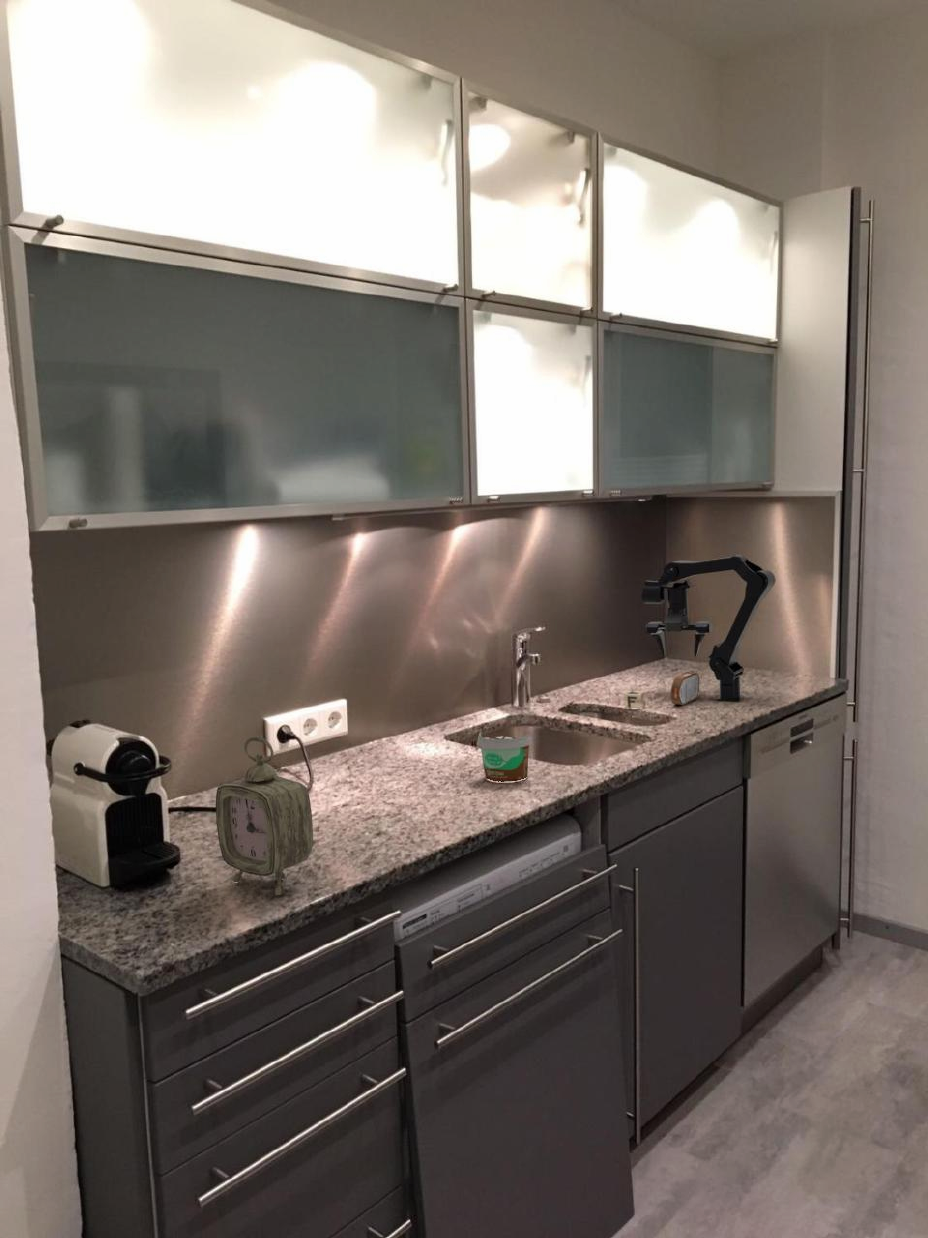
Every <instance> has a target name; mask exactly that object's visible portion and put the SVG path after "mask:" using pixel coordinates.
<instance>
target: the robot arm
mask: <svg viewBox="0 0 928 1238" xmlns="http://www.w3.org/2000/svg"><path fill="white" fill-rule="evenodd" d="M731 570H733V571H735V573H736V574H737V575H738V576H739V577H740V578H741V579H742V580H743V581H744V582H745V583H746V585H745V592H744V600H743V601H742V603H741V605H740V607H739V610H738V611H737V614H736V616H735V618H734V620H733V623H732V624H731V626H730V628H729V631H728V633H727V635H726V637H725V639H724V641H723V642H720V643H718V644H715V645H714V646H713V649H712V651H711V654H710V655H709V656H708V658H709V660H708V665H709V668H710V669H711V672H713V673H714V676H715V679H716V680H717V681H719V695H718V697H717V698H716V701H731V702H739V701H741V700H742V699H743V698H744V694H741V677H743V674H744V672H745V668H744V667H743V666H742V665H741V664H740V663H739V662H738V657H739V652H740V650H739V649H740V644H742V640H743V638H744V636H745V635H746V633H747V631H748V628H749V626H750V624H751V623H752V620H753V618H754V616H755V613H756V612H757V610H758V608H759V605H760V603H761V602H762V601H763V600H764V599H765V598H766V597H767V595H769V593H770V592H771V590H772V589H773V588H774V586H775V584H776V577H775V574H774V573H773V572H772V571H771V570H769V569H764V568H762V567H761V566H760V565H758V564H756V563H755V562H753V561H751V560H750V559H748V558H747V557H745V556H744V555H743V554H737V555H733V556H727V557H722V558H714V559H708V560H700V561H695V560H684V559H683V560H682V559H681V560H675V561H670V562H668V563H667V564H666V565H665V566H664V568H663V573H662V575H661V576H660V578H659V579H658V580H656V581H654V580H645V581H644V582H643V583H644V585H643V587H642V590H641V599H642V602H643V604H644V605H645V604H652V605H653V604H657V605H658V604H659V605H660V604H665V602H666V601H667V615H666V616H665V619H664V622H662V621H650V622H648V623H647V624H646V625H645V634H649V635H650V637H654V639H655V640H656V642H657V643H658V646H659V649H660V651H661V654H662V656H663V657H666V655H667V654H666V653H667V652H666V651H667V650H666V639H665V632H666V633H671V632H677V633H680V632H682V631H696V633H694V648H693V649H694V651H693V652H694V657H697V655H698V654H699V649H700V647H701V644H702V641H703V639H704V637H705V636H707V635H708V634H710V633H711V632H712V631H713V630H714V627H713V622H712V621H710V620H708V621H707V620H706V621H705V620H703V621H702V620H700V621H697V622H695V623H691V620H690V615H689V598H688V590H689V589H692V588H693V589H694V588H695V585H694V583H692V582H691V581H690V580H689V579H688V578H691V577H695V576H697V575H701V574H703V575H705V574H709V573H719V572H725V571H731ZM681 580H684V582H677V581H681ZM669 584H673V585H669Z"/></svg>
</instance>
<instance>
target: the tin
mask: <svg viewBox="0 0 928 1238" xmlns="http://www.w3.org/2000/svg"><path fill="white" fill-rule="evenodd" d="M699 693H700V676H699V674H698V673H697V672H696V673H695V672H691V671H686V672H683V673H681V674H678V675H676V676H675V677H674V679H673V680H672V684H671V688H670V699H671V702H672V704H673V705H677V706H685V705H687V704H689V703H692V702H694V701H695V700H696V699H697V698H698V695H699ZM694 699H695V700H694ZM693 700H694V701H693ZM691 701H692V702H691ZM688 702H689V703H688ZM684 704H685V705H684Z"/></svg>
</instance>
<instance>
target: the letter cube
mask: <svg viewBox="0 0 928 1238" xmlns="http://www.w3.org/2000/svg"><path fill="white" fill-rule="evenodd" d="M624 705H625V706H624V708H637V709H641V708H643V709H645V708H646V707H645V706H646V691H644V690H643V691H642V690H638V691H637V690H629V691H627V692H626V693H624ZM644 707H645V708H644Z"/></svg>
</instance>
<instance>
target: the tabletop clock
mask: <svg viewBox="0 0 928 1238" xmlns="http://www.w3.org/2000/svg"><path fill="white" fill-rule="evenodd" d="M251 742H260V743H263V744H265V745H266V747H267V748H268V750H269V752H270V755H269V757H268V758H263V757H264V756H263V754H262V753H257V754H256V755H255V756H254V755H252V754H251V753H250V752H249V751H248V745H249V744H250V743H251ZM243 748H244V753H245V754H246V756H247V757H248V759H250V760H251V761H252V762H255V763H256V764H253V765H251V766H250V767H249V769H247V771H246V773H245V775H244V778H242V779H239V780H237V781H233V782H230V783H226V784H224V785H221V786H219V787H217V789H216V793H215V819H216V820H215V821H216V822H215V823H216V831H217V838H218V844H219V849H220V853H221V856H222V859H223V861H224V862H225V863H226V864H227V865H229V866H230V867H232V868H234V869H235V870H239V872H238V873H235V874H234V875H232V877H231V879H232V882H233V883H234V882H239V881H241V880H242V881H243V876H242V874H243V873H246V874H250V875H255V876H260V877H261V876H262V877H269V876H272V875H274V877H275V880H276V879H277V880H276V881H277V882H276V883H277V886H276V887H275V889H274V894H275V896H277V895H282V894H284V895H285V892H286V889H285V887H284V886H283V885H282V881H283V880H282V878H284V877H286V874H285V872H284V870H286V869H289V868H291V867H293V866H296V865H298V864H300V863H301V864H302V863H304V862H306V861H308V859H309V858H310V857H309V856H310V855H311V853H312V851H313V847H314V825H313V823H314V822H313V821H314V820H313V813H312V804H311V798H310V794H309V793H310V792H309V790H308V787H307V786H305V785H304V784H303V783H301V782H298V781H295V780H293V779H289V778H285V777H282V776H279V775H278V774H277V772H276V769H275V768H274V767H273V766H272V765H270V764H268V763H269V762H271V761H272V760H273V758H274V749H273V746H272V745H271V743H270V742H269V741H268V740H266V738H263V737H261V736H251V737H249V738H247V740H246V741H245V742H244V747H243ZM284 879H285V878H284ZM281 880H282V881H281ZM242 881H241V882H242ZM282 896H283V895H282Z"/></svg>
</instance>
